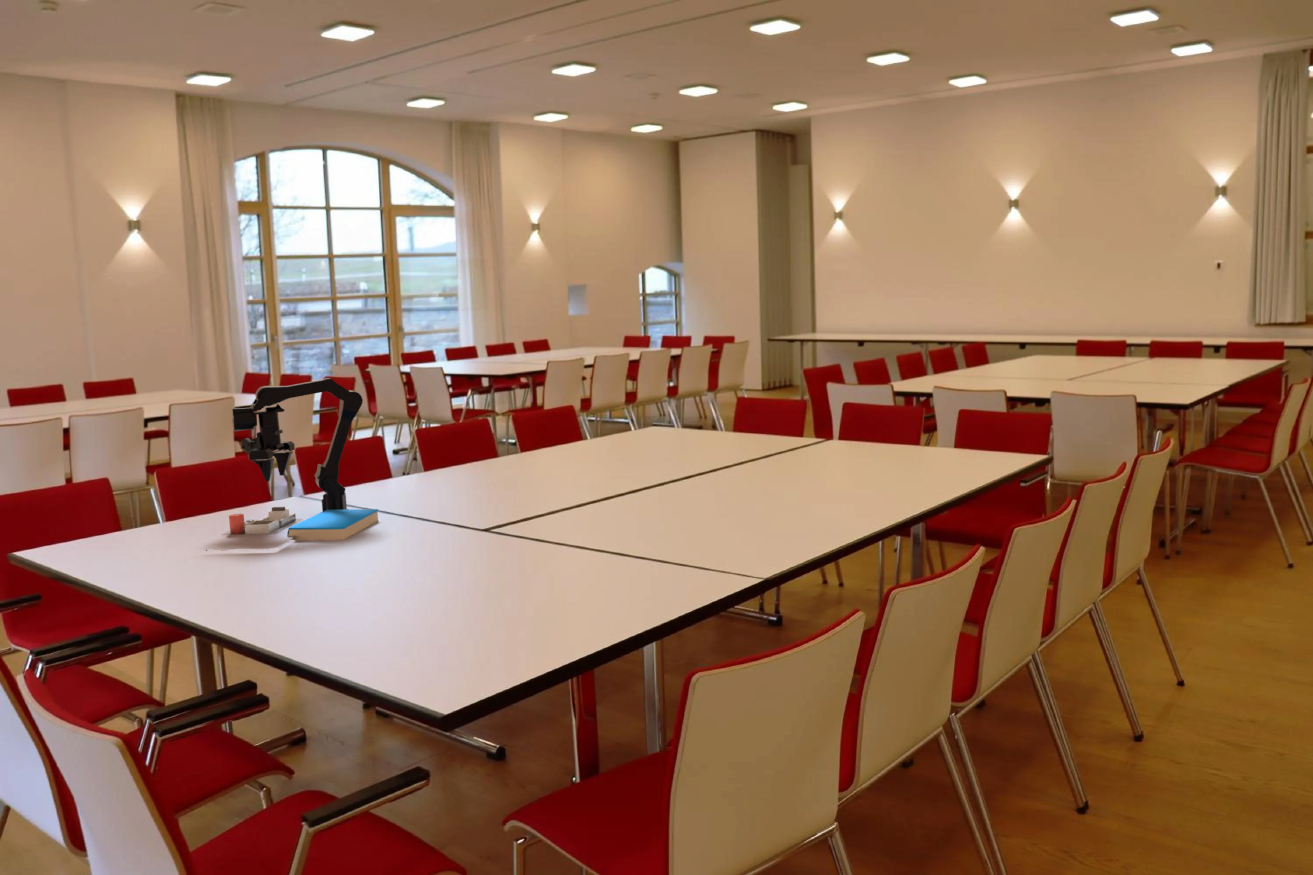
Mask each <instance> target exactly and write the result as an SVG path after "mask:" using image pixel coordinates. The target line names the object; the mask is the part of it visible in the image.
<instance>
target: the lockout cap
mask: <svg viewBox="0 0 1313 875" xmlns="http://www.w3.org/2000/svg"><path fill="white" fill-rule="evenodd" d="M244 516H245V514H244V513H234V514H233V513H232V514H229V515H228V521H229V522H228V523H229V531H230V533H231V534H238V533H243V532H245V523H244V522H245V517H244Z"/></svg>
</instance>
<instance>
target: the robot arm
mask: <svg viewBox="0 0 1313 875" xmlns="http://www.w3.org/2000/svg"><path fill="white" fill-rule="evenodd" d="M325 392H327V393H330V394H331V395H332V396H334V397H335V398H337V399H339V409H338V410H339V412H338V413H339V414H338V419H337V424H336V426H335V430H334V431H333V437H332V439H331V442H330V445H329V449H328V452H327V454H326V455H327V456H326V458H325V461H324V462H323V463H322V464H320V463H318V464H317V468H316V472H315V473H314V477H315V483H316V485H317V486H318V488H320V489H321V490H322V491H323V494H322V499H321V508H322V511H321V512H323V511H325V510H350V509H349V508H348V507H347V495H346V487H345V486H343V485H342V484H341V483H339V474H340V471H339V470H340V469H339V468H340V461H341V458H342V455H343V452H344V448H345V445H346V442H347V439H348V436H349V432H350V429H351V426H352V423H353V421H354V419H355V418H356V416H357V415H358V413H359V411H360V410H361V407H362V404H363V396H362V395H361V394H360V393H359V392H357V391H355V390H348V389H347V388H345V387H343V386H342V385H341V384H339V383H338V382H335V380H334V379H333V378H332V379H331V378H328V377H325V378H322V379H319V380H313V381H308V382H301V383H296V384H290V385H264V386H260V387H259V388H258V389H256V391H255V399H254V400H253V402H252V403H251V405H249V406H250V407H243V408H238V407H237V408H236V407H235V408H234V407H233V408H232V409H231V414H232V416H231V417H232V418H231V421H232V422H231V424H232V429H233V432H239V431H240V432H241V431H250V430H254V428H255V427H256V426H258V425H259V431H258V432H257V433H256V437H254V438H252V439H250V438H249V437H247V438H244V439H241V440H240V441H241V444H240V449H241V450H243V451H245V454H247V456H248V460H249V461H251V462H252V463H254V464H256V465H258V467H259V469H260V471H261V474H262V475H263V478H264V480H265V482H270V480H271V477H272V471H273V465H274V461H275V460H276V465H277V470H278V473H279V476H285V473H286V470H287V466H288V464H289V462H290V459H291V456H292V455H293V453H294V450H296V448H295V447H296V446H295V443H294V442H293V441H292V440H286V441H283V440H282V438H281V434H284V433H283V432H284V431H283V429H281V428H280V420H279V413H282V412H283V413H285V409H284V408H282V407H281V405H280V404H279V403H282V402H284V401H286V400H289V399H292V398H293V399H294V398H299V397H303V396H304V397H305V396H308V395H314V394H319V393H325ZM273 405H275V406H273ZM263 409H264V410H263ZM257 416H258V420H257Z"/></svg>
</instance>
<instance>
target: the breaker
mask: <svg viewBox="0 0 1313 875" xmlns="http://www.w3.org/2000/svg"><path fill="white" fill-rule="evenodd" d="M268 515H269V520H280V519H282V518H284V517H286V516H288V515H290V511H289V508H286V506H274V507H273V506H272V507H271V510H270V511H268Z"/></svg>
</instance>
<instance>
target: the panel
mask: <svg viewBox="0 0 1313 875" xmlns="http://www.w3.org/2000/svg"><path fill="white" fill-rule="evenodd" d="M300 521H301V522H302V521H303V518H297V517H296V513H295V512H294V513H289V515H288V516H286V517H284V518H282V519H280V520H269V514H268V515H266V516H265V517H262V518H260V519H247V520H245V521H244V523H245V532H243V533H238V534H231V533H230V530H229V531H226V532H225V533H222V534H221V536H234V535H235V536H236V535H237V536H238V535H241V536H242V535H276V534H278V533H280V532H282V531H284V530H285V529H287V528H289V527H291V526H293V525H296V524H298V523H300Z"/></svg>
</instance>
